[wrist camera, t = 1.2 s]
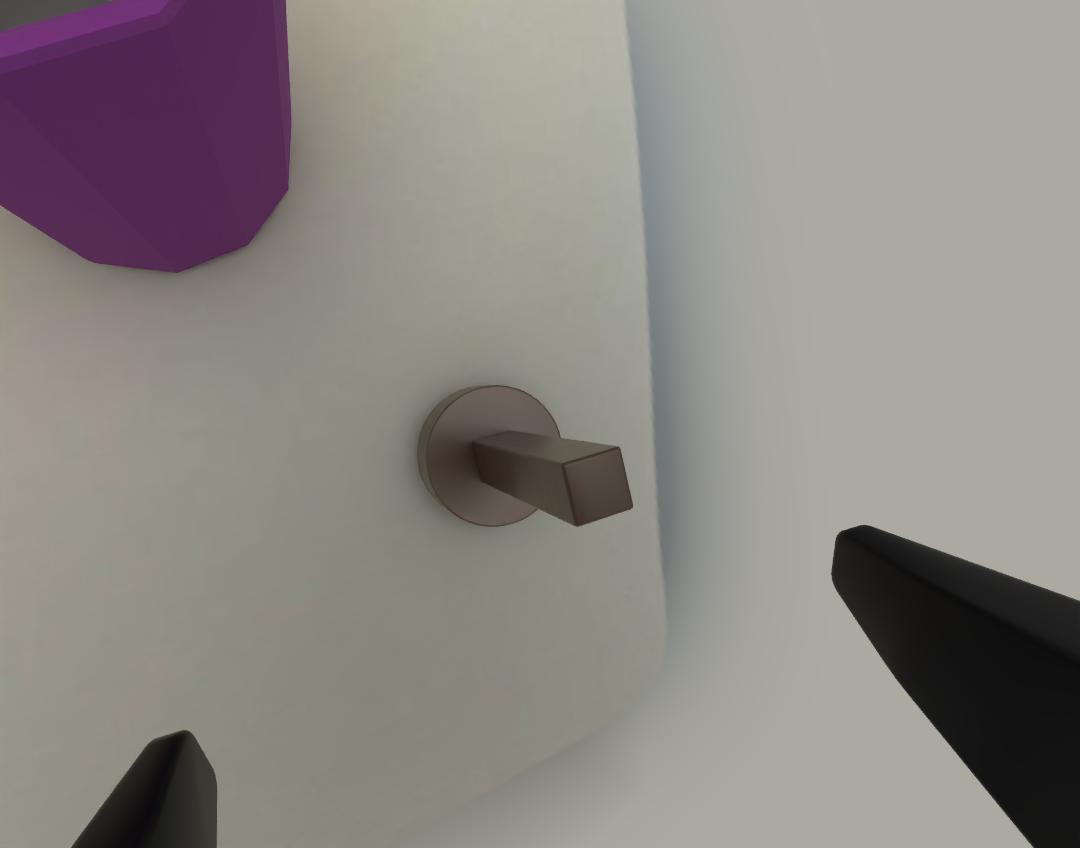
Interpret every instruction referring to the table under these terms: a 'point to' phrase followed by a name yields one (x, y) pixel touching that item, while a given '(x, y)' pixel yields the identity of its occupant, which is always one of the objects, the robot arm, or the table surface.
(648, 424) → the table surface
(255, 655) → the table surface
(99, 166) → the mug
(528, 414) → the lever handle
